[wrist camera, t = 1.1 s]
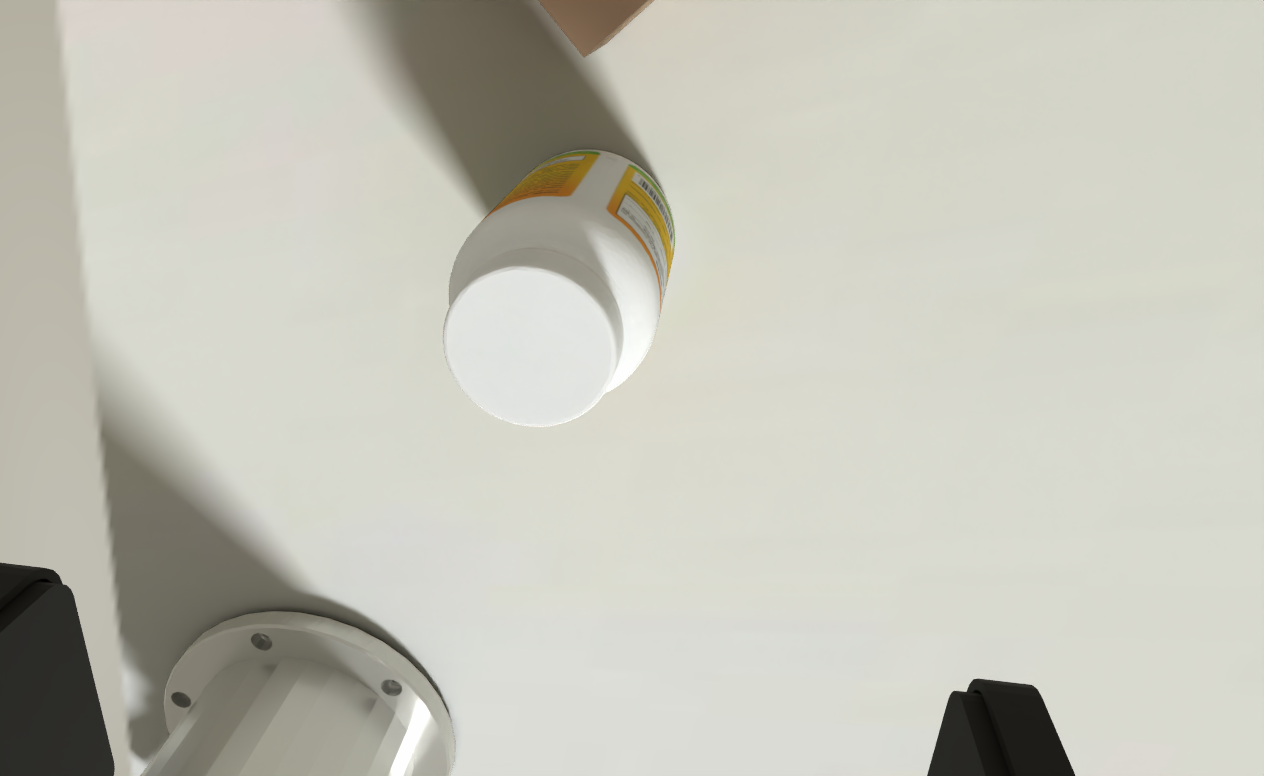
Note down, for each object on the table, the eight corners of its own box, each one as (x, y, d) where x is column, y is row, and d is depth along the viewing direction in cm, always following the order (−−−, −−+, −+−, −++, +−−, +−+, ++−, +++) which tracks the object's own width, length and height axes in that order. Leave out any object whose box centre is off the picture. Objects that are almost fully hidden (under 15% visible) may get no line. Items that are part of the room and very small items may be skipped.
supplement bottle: (490, 276, 30) (386, 408, 21) (537, 120, 28) (442, 194, 19) (642, 334, 30) (602, 487, 22) (702, 184, 28) (684, 287, 19)
